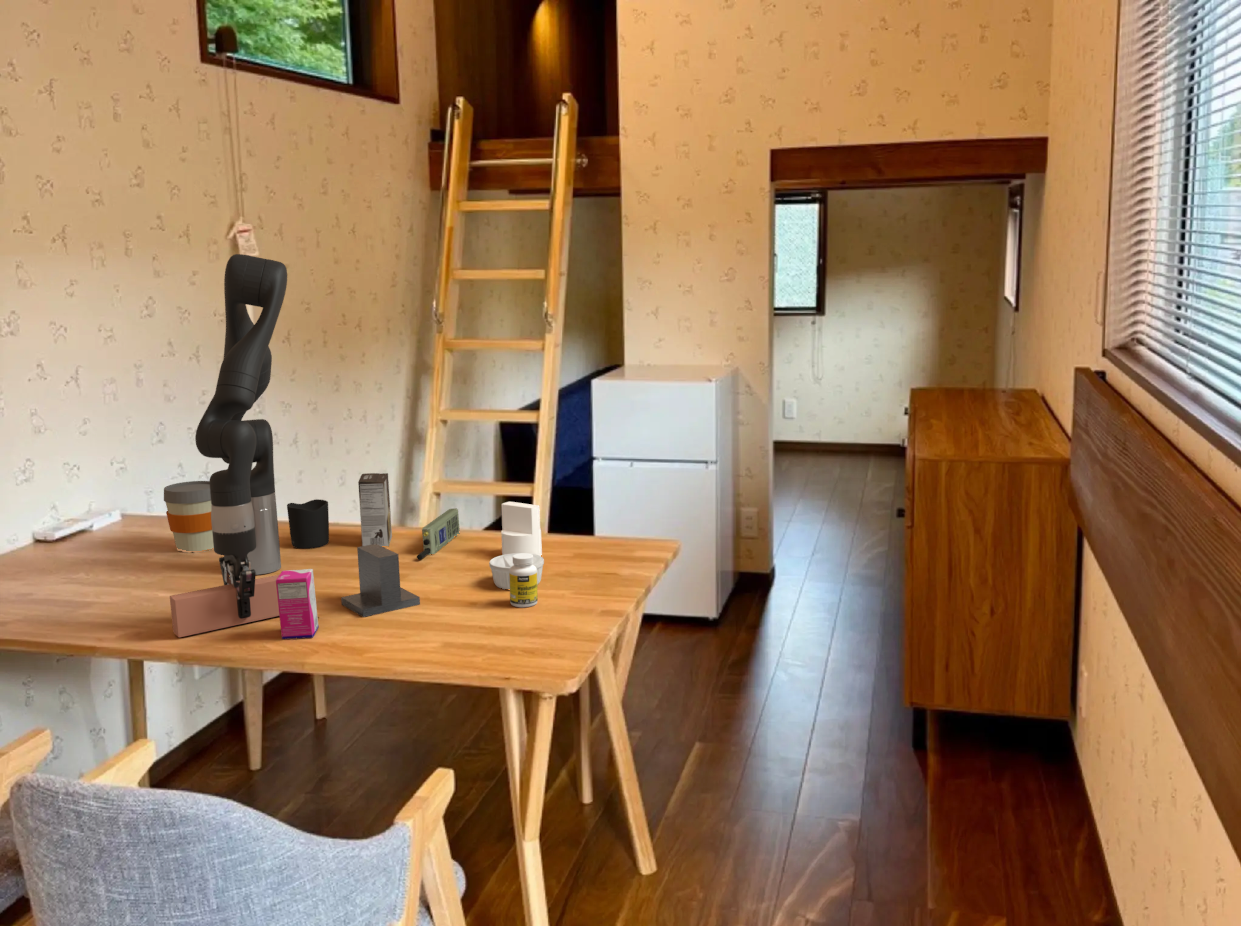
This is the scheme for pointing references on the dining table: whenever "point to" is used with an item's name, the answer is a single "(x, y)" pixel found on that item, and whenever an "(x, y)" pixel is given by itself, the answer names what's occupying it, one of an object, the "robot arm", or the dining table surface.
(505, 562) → the ramekin
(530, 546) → the cylinder with rectangular tab
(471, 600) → the dining table surface
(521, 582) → the supplement bottle
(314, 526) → the pen holder
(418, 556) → the handheld radio
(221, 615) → the batten
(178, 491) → the reusable coffee cup
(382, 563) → the stand
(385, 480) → the coffee box
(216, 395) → the robot arm
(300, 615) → the supplement box
